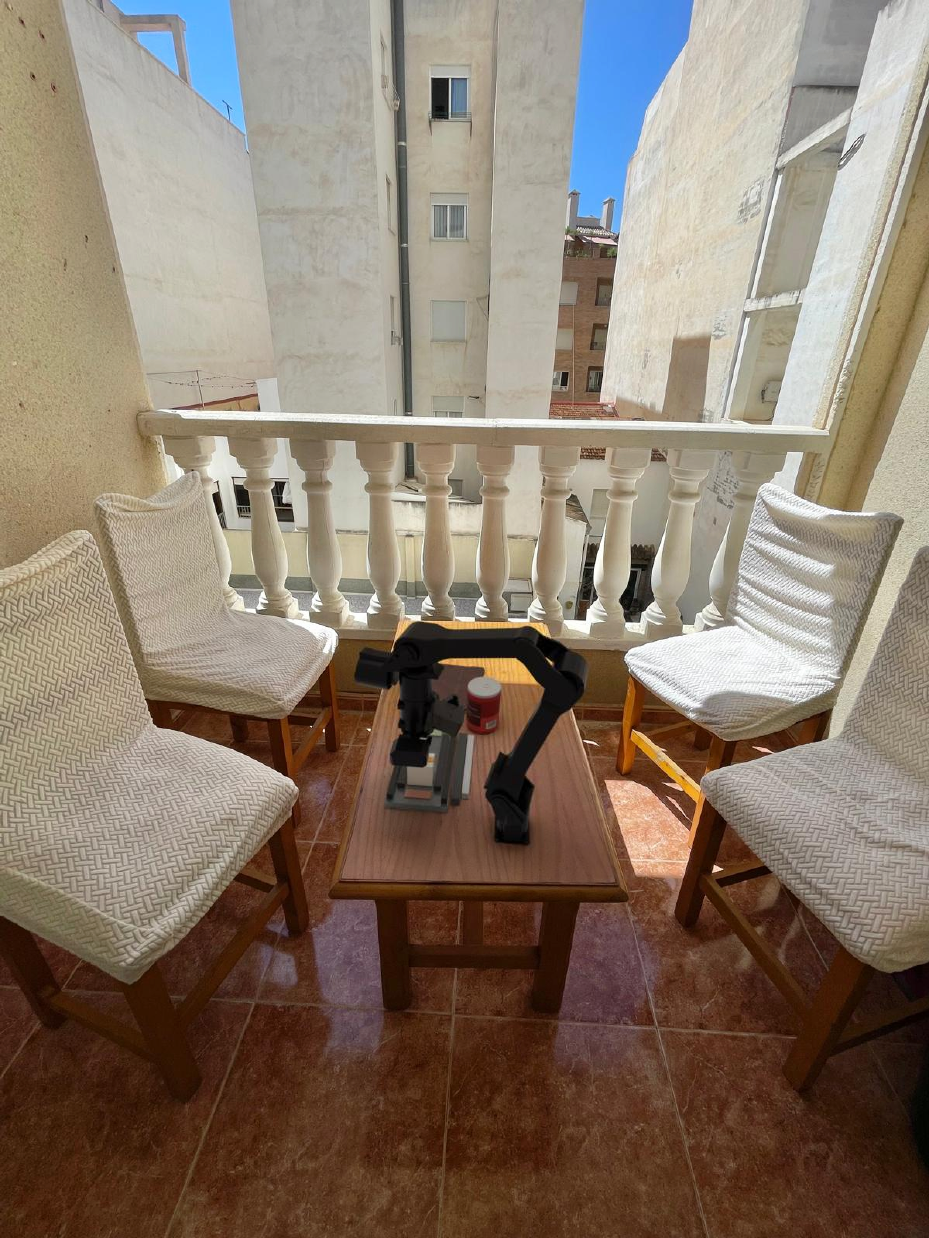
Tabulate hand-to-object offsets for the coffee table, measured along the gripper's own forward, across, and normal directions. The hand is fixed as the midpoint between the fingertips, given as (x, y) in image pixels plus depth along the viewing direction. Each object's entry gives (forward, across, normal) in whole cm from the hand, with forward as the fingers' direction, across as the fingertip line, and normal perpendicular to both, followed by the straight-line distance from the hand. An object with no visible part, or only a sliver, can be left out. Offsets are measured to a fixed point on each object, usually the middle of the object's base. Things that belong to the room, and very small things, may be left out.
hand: (416, 762), depth 103 cm
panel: (+11, +11, 0) cm, 16 cm away
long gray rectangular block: (+11, +11, -8) cm, 18 cm away
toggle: (+10, +6, 0) cm, 11 cm away
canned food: (+11, +27, -11) cm, 31 cm away
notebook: (+12, +41, -2) cm, 43 cm away
